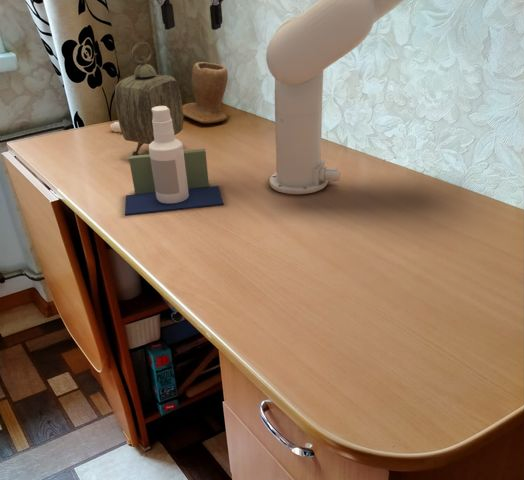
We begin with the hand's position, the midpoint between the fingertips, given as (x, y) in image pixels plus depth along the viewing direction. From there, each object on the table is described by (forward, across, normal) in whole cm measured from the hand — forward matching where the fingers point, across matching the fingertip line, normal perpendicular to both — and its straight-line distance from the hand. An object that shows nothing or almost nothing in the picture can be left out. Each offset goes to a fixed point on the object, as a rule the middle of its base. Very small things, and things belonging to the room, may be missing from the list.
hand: (193, 28), depth 110 cm
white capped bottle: (+30, +4, +11) cm, 32 cm away
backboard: (+30, +6, +6) cm, 31 cm away
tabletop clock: (+30, +20, -15) cm, 39 cm away
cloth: (+30, +3, +12) cm, 32 cm away
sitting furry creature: (+30, +36, -31) cm, 57 cm away
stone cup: (+30, +19, -45) cm, 58 cm away
